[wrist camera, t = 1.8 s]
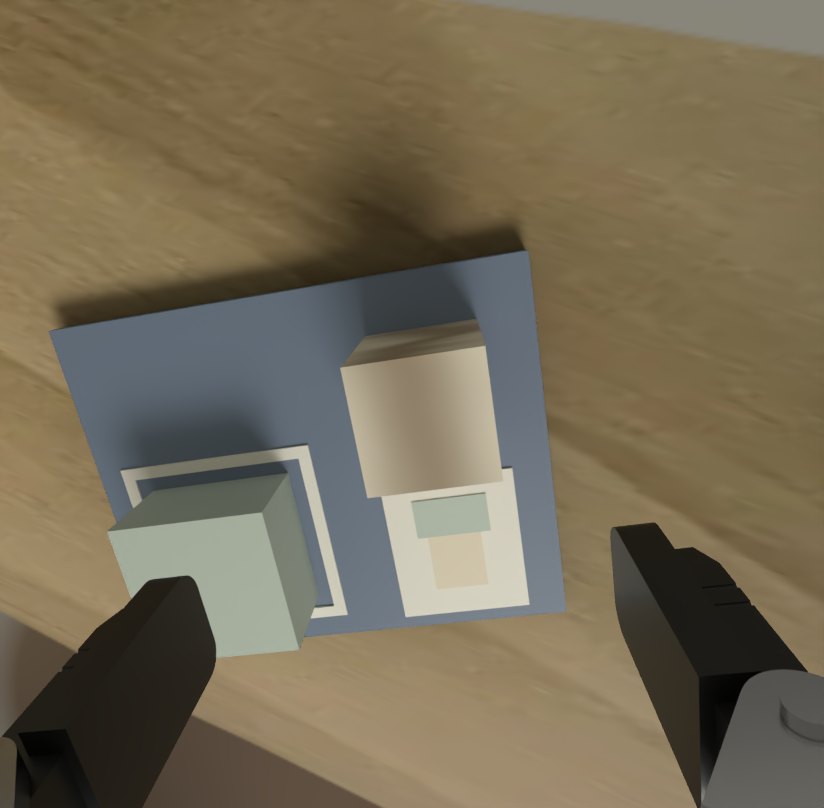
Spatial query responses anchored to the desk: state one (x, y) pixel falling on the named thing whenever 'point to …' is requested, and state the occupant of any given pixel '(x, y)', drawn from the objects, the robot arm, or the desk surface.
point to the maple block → (423, 409)
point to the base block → (227, 558)
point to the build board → (335, 436)
